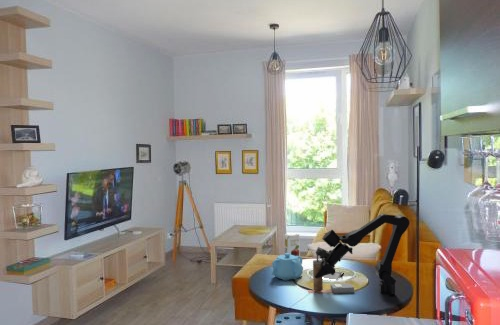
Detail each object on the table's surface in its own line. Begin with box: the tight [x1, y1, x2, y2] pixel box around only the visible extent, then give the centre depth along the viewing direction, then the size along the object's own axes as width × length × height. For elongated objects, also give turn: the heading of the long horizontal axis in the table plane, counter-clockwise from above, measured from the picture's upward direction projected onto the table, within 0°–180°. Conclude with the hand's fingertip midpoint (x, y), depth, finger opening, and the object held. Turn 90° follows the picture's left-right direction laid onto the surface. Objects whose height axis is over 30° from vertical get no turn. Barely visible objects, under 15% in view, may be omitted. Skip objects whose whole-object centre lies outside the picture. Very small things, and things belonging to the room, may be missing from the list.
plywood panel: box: [306, 289, 334, 294], centre depth 187 cm, size 22×16×1 cm
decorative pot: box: [271, 252, 304, 282], centre depth 218 cm, size 16×16×14 cm
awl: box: [312, 255, 324, 291], centre depth 192 cm, size 4×4×18 cm
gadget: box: [309, 270, 342, 281], centre depth 218 cm, size 23×15×4 cm, turn 155°
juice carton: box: [283, 232, 301, 261], centre depth 244 cm, size 8×9×19 cm
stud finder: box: [330, 282, 355, 294], centre depth 192 cm, size 10×6×3 cm, turn 93°
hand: (315, 276), depth 192 cm, fingers closed on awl, 4 cm apart
